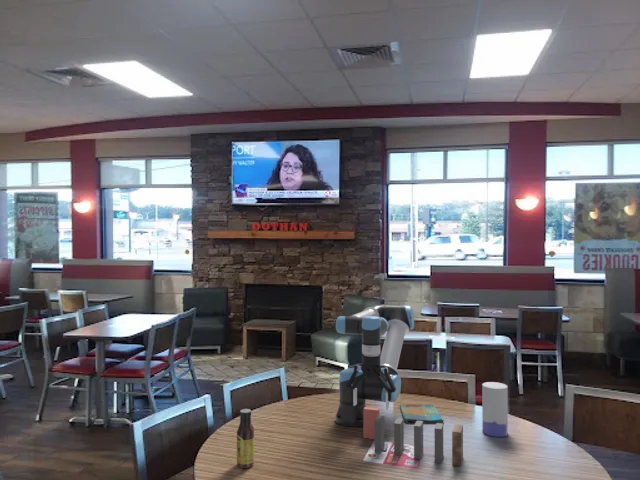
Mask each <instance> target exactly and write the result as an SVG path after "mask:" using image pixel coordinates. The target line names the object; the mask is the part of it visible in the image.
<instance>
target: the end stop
mask: <svg viewBox="0 0 640 480" xmlns="http://www.w3.org/2000/svg"><path fill="white" fill-rule="evenodd" d="M451 431H452V433H451V434H452V435H451V442H452V443H451V447H452V448H451V452H452V455H451V461H452V462H451V463H452V464H451V465H452V466H456V467H462V464H463V458H464V424H456V423H454V425H453V427H452V430H451Z"/></svg>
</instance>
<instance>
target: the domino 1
mask: <svg viewBox="0 0 640 480" xmlns="http://www.w3.org/2000/svg"><path fill="white" fill-rule="evenodd" d="M385 417H386V416H384V415H379V416H378V417H377V418H376V420H375V440H374V453H377V454H382V452H383V450H384V449H385V439H386V438H385V436H386V435H385V432H386V431H385V426H386V425H385V424H386V423H385Z"/></svg>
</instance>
